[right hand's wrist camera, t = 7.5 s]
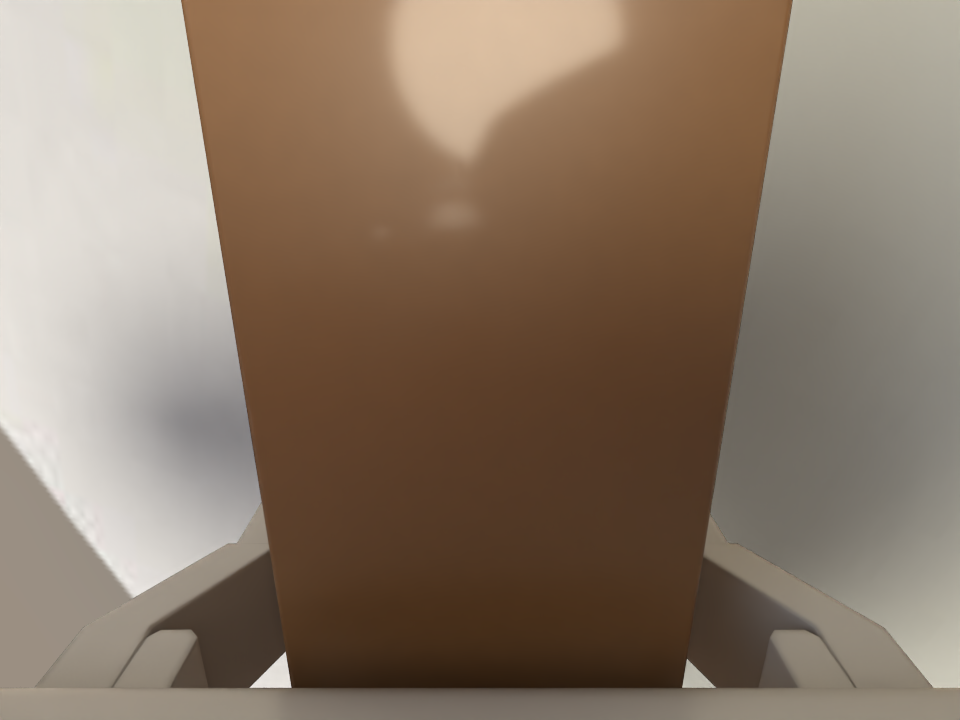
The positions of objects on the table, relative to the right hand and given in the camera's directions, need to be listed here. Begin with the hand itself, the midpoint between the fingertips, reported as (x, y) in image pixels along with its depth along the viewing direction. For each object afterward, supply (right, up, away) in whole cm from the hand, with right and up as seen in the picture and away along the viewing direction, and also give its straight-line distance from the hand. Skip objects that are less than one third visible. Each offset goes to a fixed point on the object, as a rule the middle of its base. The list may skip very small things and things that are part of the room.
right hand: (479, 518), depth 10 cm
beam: (0, +21, -4) cm, 21 cm away
